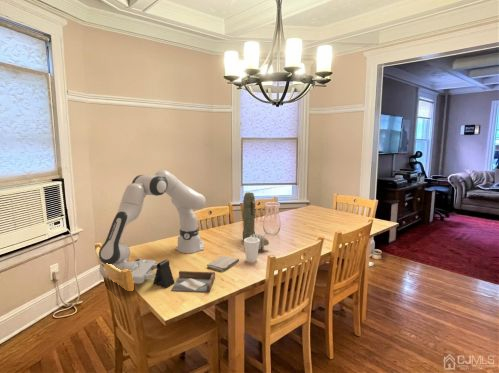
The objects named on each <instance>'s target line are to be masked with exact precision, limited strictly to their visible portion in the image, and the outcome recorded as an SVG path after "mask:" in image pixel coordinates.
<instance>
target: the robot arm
mask: <svg viewBox="0 0 499 373" xmlns="http://www.w3.org/2000/svg"><path fill="white" fill-rule="evenodd" d="M164 194H167V196H169V197H170V198H171V199H170V200H171V203H172V204H173V206H175V208H176V210H177V213H178V217H179V226H180V229H179V236H178V237H177V246H175V248H174V249H175V250H176V251H178V252H179V253H182V254H193V253H197V252H200V251H204V248H205V246H204V245H205V241H203V240H202V239H201V237H202V236H201V234H199V232H200V231H199V226H198V216H197V215H196V214H195V213H194V212H195V211H197V210H203V208H204V207H205V206H206V202H207V200H206V197H205V196H204V194H201V193H200V192H198V191H196V190H194V189H193V188H191V187H190V186H188V185H186V184H184V182H182V181H181V180H180V179H178V178H177V177H176V175H174V174H173V173H171V172H169V171H168V170H167V169H159V170H158V171H156V173H155V174H154V175H151V174H150V175H149V174H139V175H137V176H135V177H134V178H133V180H132V181H131V183H129V184H128V185H127V186H126V188H125V190H124V192H123V195H122V197H121V200H120V203H119V207H118V210H117V212H116V214H115V216H114V218H113V220H112V223H111V225H110V228H109V231H108V234H107V237H106V239H105V241H104V242H103V244H102V245H101V247H100V249H99V251H98V258H99V260H100V262H101V263H102V262H103V263H104V264H106V263H108V264H112V265H114V266H115V267H116V268H118V269H120V270H124V269H128V270H131V272H132V276H133V281H134V283H133V284H143V283H144V282H145V280H150V279H154V278H155V277H156V273H152V272H154V270H157V264H158V263H157V261H156V260H154V259H142V258H136V259H134V260H132V261H129V258H130V254H131V250H130V247H129V246H128V245H127V244H126V243H122V242H121V239H122V236H123V234H124V230H125V229H126V227H127V226H128V225H129V224H131V223H132V222H133V221H135V220H137V219H138V218H140V214H141V212H142V209H143V205H144V202H145V201H144V200H145V197H147V196H156V197H157V196H158V197H159V196H163V195H164ZM193 210H194V211H193ZM120 242H121V243H120ZM99 273H100V276H102V277H103V278H105V279H108V278H107V276H106V274H105V271H104V269H103V266H102V265H101V264H100V265H99Z"/></svg>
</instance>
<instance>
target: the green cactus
mask: <svg viewBox="0 0 499 373" xmlns="http://www.w3.org/2000/svg"><path fill="white" fill-rule="evenodd" d="M255 200H256V199H255V194H254V193H253V192H245V193H244V196H243V200H242V202H243V206H242V207H243V209H242V218H243V219H242V220H243V221H242V222H243V226H242V227H243V229H242V230H243V231H242V242H243V241H244V239H245V238H249V237H250V235H252V236H253V234H255V235H256V231H255V223H256V222H255V219H256V201H255Z"/></svg>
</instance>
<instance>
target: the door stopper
mask: <svg viewBox="0 0 499 373" xmlns="http://www.w3.org/2000/svg"><path fill="white" fill-rule="evenodd" d="M156 264H157V269H156V271H155V274H156V277H155V278H153V283H152V284H153V285H155V286H158V287H161V288H164V289H167V288H170V286H172V285H175V283H176V281H175V279H174V277H173V273H172V269H171V267H170V260H169V259H165V260H163V261H160V262H158V263H156Z"/></svg>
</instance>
